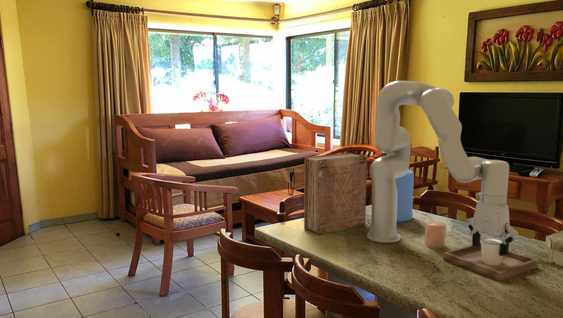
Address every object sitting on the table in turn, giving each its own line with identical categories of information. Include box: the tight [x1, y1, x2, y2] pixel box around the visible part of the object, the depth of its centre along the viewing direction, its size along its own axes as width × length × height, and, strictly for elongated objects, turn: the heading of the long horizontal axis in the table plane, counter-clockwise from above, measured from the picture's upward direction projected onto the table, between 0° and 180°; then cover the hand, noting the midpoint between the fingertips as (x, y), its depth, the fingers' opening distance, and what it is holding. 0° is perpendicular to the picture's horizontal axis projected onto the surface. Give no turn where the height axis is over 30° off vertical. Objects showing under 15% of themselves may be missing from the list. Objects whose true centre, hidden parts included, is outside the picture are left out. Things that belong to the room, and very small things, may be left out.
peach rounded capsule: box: [424, 220, 447, 250], centre depth 159 cm, size 7×7×8 cm
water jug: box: [395, 168, 415, 223], centre depth 194 cm, size 16×16×28 cm
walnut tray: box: [443, 241, 539, 282], centre depth 142 cm, size 20×20×2 cm
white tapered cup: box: [480, 237, 502, 265], centre depth 141 cm, size 7×7×7 cm
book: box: [303, 152, 368, 236], centre depth 180 cm, size 25×9×30 cm, turn 122°
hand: (489, 250), depth 142 cm, fingers open, 9 cm apart
